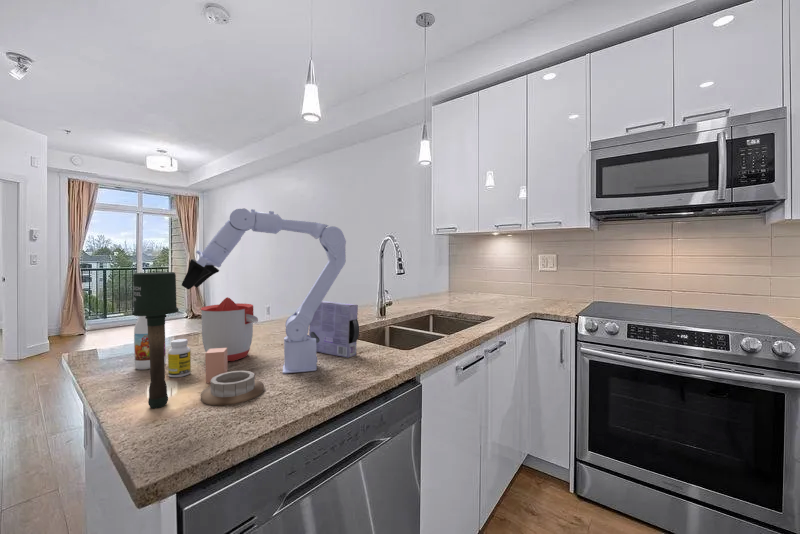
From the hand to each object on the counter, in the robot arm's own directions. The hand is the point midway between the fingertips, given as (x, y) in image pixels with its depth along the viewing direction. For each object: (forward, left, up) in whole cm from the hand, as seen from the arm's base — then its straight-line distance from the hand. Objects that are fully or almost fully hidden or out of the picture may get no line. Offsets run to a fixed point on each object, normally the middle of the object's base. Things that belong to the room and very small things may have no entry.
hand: (189, 286), depth 96 cm
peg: (-7, +2, -25) cm, 26 cm away
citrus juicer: (-7, -19, -26) cm, 33 cm away
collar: (-13, +14, -25) cm, 32 cm away
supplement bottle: (+4, -5, -26) cm, 26 cm away
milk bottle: (+15, -16, -26) cm, 34 cm away
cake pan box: (-40, -15, -26) cm, 50 cm away
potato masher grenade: (+2, +17, -26) cm, 31 cm away
